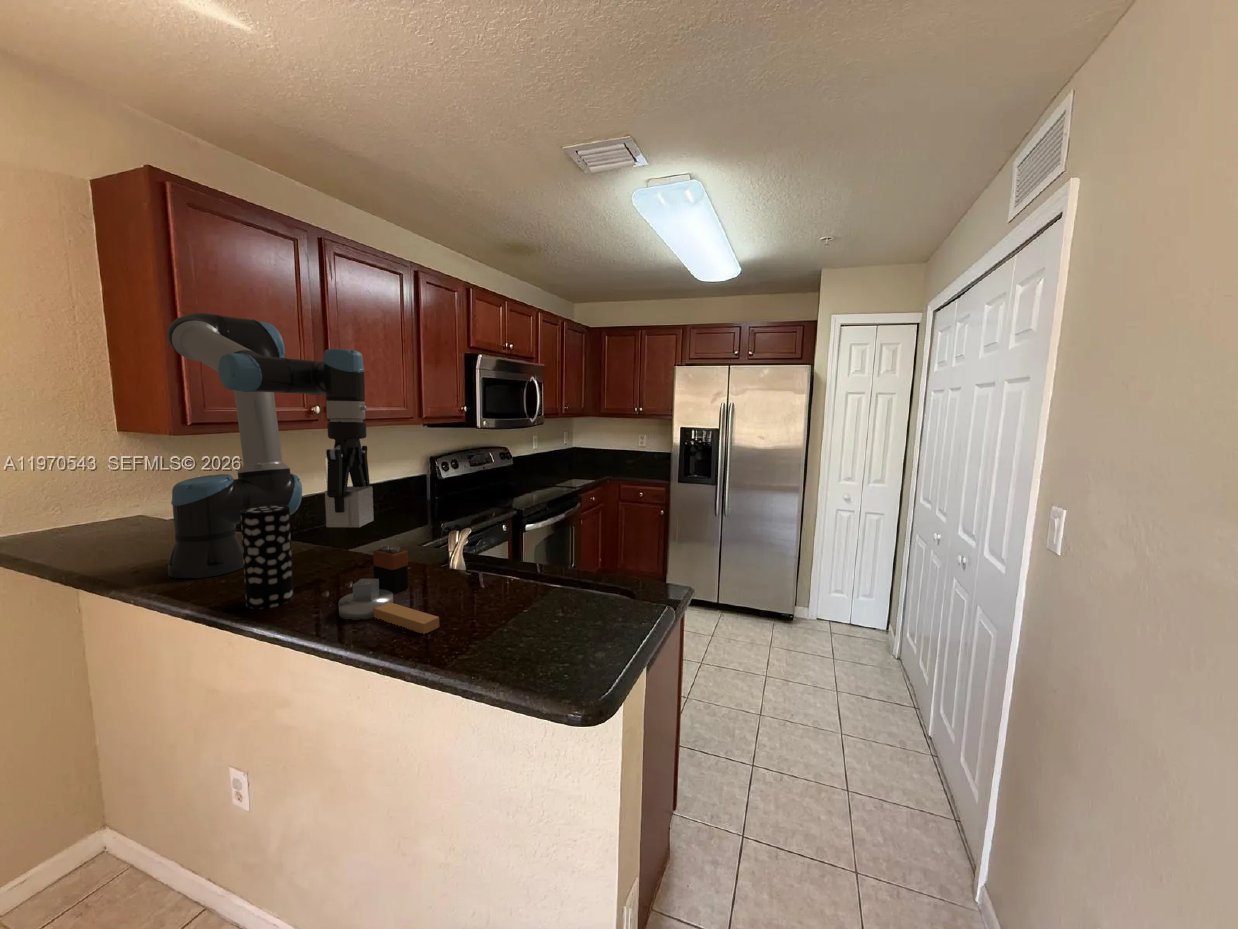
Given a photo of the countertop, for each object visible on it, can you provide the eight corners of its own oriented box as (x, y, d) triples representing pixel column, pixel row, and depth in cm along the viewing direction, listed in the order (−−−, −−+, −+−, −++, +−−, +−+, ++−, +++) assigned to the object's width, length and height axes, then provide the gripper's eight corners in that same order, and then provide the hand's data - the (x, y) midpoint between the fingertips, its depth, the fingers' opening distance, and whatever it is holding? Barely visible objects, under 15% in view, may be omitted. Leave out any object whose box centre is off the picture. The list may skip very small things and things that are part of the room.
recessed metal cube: (326, 527, 107) (324, 491, 106) (342, 520, 114) (341, 486, 113) (359, 527, 107) (357, 491, 106) (373, 520, 114) (372, 486, 113)
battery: (392, 594, 110) (391, 551, 108) (373, 588, 113) (371, 546, 112) (409, 588, 113) (408, 546, 112) (389, 583, 117) (388, 542, 115)
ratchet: (328, 613, 99) (327, 584, 98) (372, 597, 108) (372, 570, 107) (409, 641, 88) (408, 609, 87) (451, 620, 97) (451, 591, 96)
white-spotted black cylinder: (289, 591, 110) (284, 503, 108) (297, 602, 104) (293, 510, 102) (243, 600, 104) (237, 508, 102) (249, 612, 98) (243, 515, 96)
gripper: (341, 421, 98) (346, 533, 101) (383, 420, 118) (386, 513, 120) (302, 421, 98) (308, 533, 100) (351, 420, 118) (355, 513, 120)
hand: (351, 522), depth 110 cm, fingers closed on recessed metal cube, 7 cm apart
